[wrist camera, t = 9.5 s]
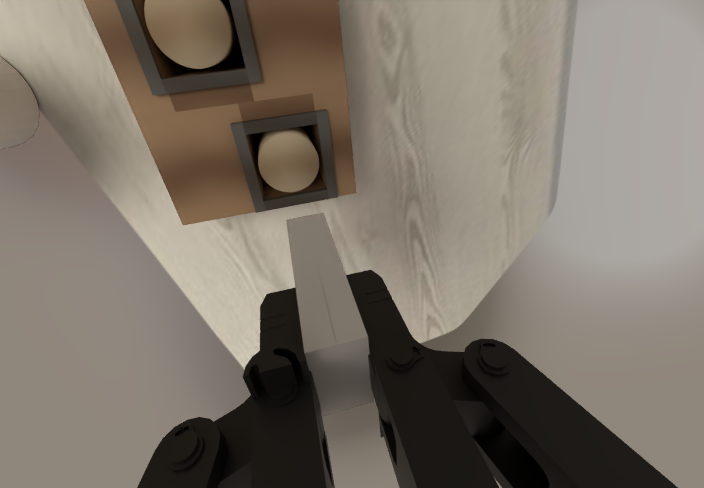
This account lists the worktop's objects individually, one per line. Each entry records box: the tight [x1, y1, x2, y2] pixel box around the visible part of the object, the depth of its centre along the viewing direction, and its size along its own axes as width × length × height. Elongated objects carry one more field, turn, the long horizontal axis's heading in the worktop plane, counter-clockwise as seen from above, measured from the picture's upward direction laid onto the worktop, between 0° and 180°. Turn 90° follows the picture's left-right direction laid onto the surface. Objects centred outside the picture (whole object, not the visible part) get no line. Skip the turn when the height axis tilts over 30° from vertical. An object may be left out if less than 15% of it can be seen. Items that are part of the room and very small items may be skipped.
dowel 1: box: [144, 0, 239, 69], centre depth 22 cm, size 4×4×8 cm
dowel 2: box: [258, 126, 319, 192], centre depth 27 cm, size 4×4×8 cm
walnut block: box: [84, 0, 356, 225], centre depth 25 cm, size 16×14×8 cm
